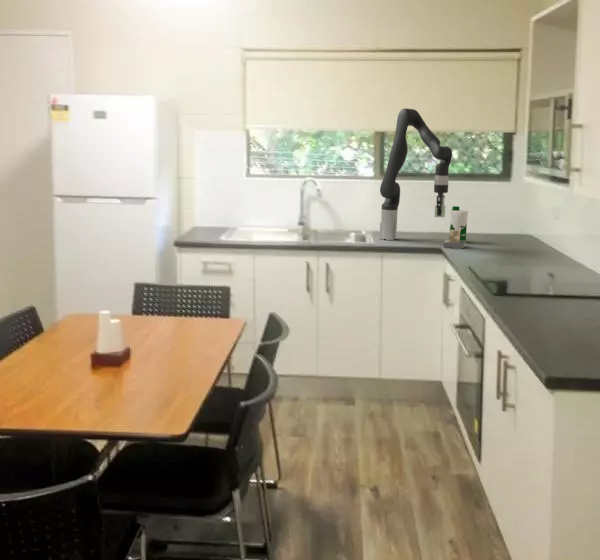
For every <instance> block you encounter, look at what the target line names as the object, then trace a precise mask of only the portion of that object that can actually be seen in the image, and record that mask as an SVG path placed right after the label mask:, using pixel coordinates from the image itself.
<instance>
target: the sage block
mask: <svg viewBox="0 0 600 560" xmlns="http://www.w3.org/2000/svg"><path fill="white" fill-rule="evenodd" d="M436 206H437V204H436V205H434V218H445V217H446V205H445V204H444V205H442V210H441V216H438V215H437V207H436ZM438 206H440V205H438Z"/></svg>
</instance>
